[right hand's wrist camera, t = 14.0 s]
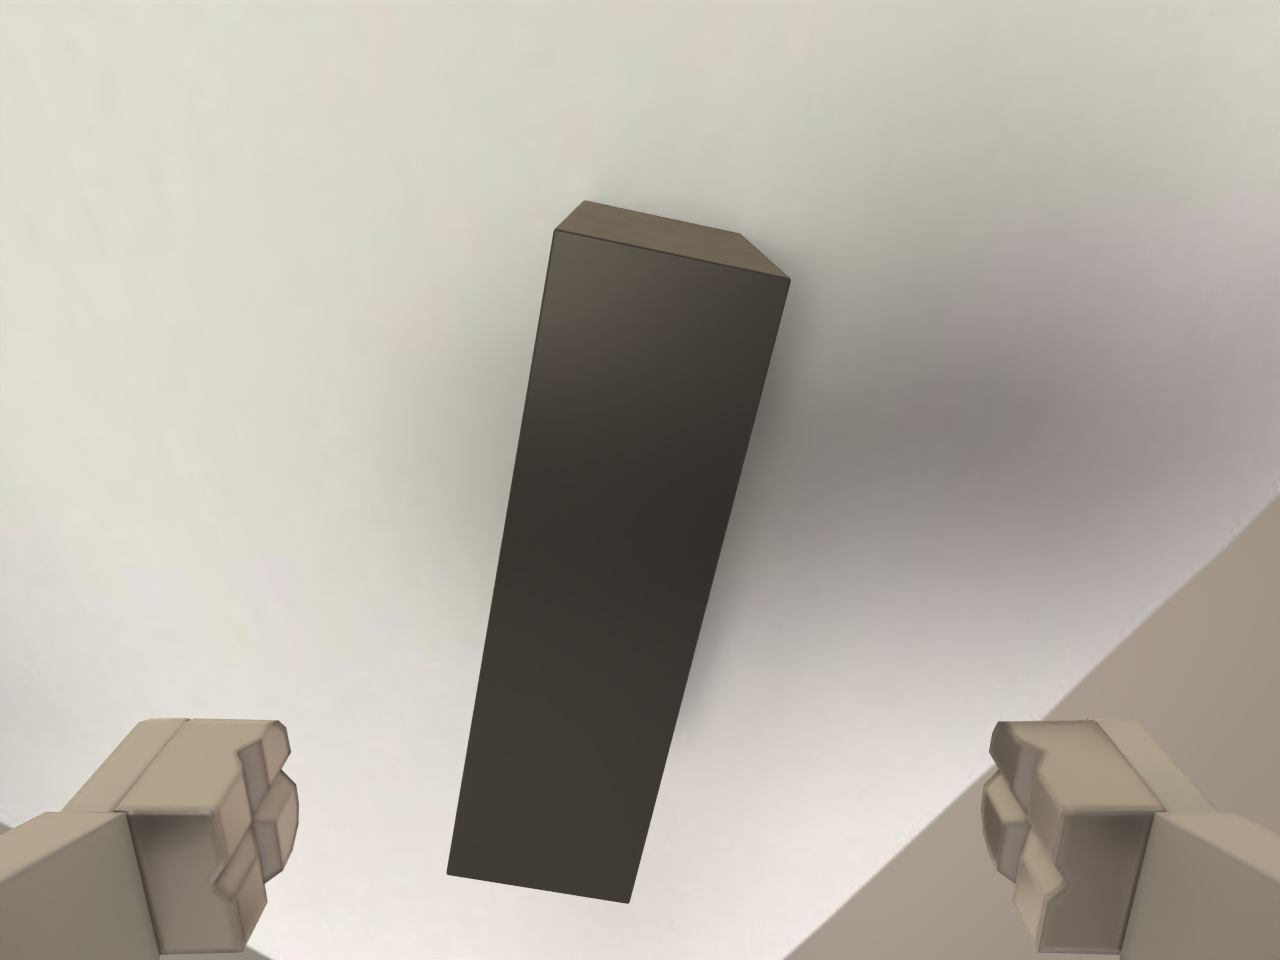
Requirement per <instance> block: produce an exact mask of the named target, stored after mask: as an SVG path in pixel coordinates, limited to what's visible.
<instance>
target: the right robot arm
mask: <svg viewBox="0 0 1280 960" xmlns="http://www.w3.org/2000/svg"><path fill="white" fill-rule="evenodd" d="M290 753H291V750H290V745H289V740H288V735H287V730H286V727H285V726H284V725H283V724H282V723H281V722H280V721H278V720H237V719H192V720H191V719H188V718H157V719H148V720H145V721H142V722H139V723H138V724H137V725H136V726H135V727H134V728H133V730H132V731H131V732H130V733H129V734H128V735H127V736H126V738H125V739H124V740H123V741H122V742H121V743H120V744H119V745H118V747H117V748H116V749H115V750H114V751H113V752H112V753H111V755H110V756H109V757H108V758H107V759H106V760H105V761H104V763H103V764H102V765H101V766H100V767H99V768H98V769H97V771H96V772H95V773H94V774H93V775H92V776H91V777H90V778H89V780H88V781H87V782H86V783H85V784H84V785H83V786H82V788H81V789H80V790H79V791H78V792H77V793H76V794H75V796H74V797H73V798H72V799H71V800H70V801H69V802H68V803H67V805H66V806H65V807H64V808H63V809H62V810H61V811H60V812H45V813H43V814H41V815H39V816H37V817H35V818H33V819H31V820H29V821H27V822H25V823H23V824H21V825H19V826H18V827H16V828H14V829H12V830H10V831H8V832H6V833H4V834H2V835H0V960H160V955H168V954H201V953H235V952H243V950H244V948H245V946H246V944H247V942H248V940H249V938H250V936H251V934H252V932H253V930H254V928H255V926H256V924H257V922H258V920H259V918H260V916H261V914H262V912H263V910H264V908H265V906H266V904H267V896H266V890H265V885H264V884H265V883H266V882H268V881H269V880H270V879H272V878H273V877H275V876H276V875H277V874H279V873H280V872H282V871H283V870H284V867H285V865H286V863H287V861H288V859H289V857H290V854H291V852H292V850H293V846H294V841H295V837H296V832H297V828H298V818H299V801H298V794H297V787H296V784H295V783H294V782H293V781H292V780H291V779H290V778H289V777H288V776H287V775H286V774H285V773H284V772H283V771H282V770H281V769H282V767H283V765H284V763H285V762H286V760H287V758H288V756H289V755H290ZM989 753H990V755H991V756H992V758H993V760H994V762H995V763H996V765H997V767H998V769H999V770H998V771H997V772H996V773H995V774H994V775H993V776H992V777H991V778H990V779H989V780H988V781H987V782H986V783H985V784H984V788H983V796H982V804H981V816H982V827H983V835H984V839H985V842H986V846H987V849H988V853H989V855H990V857H991V859H992V861H993V863H994V865H995V867H996V870H997V871H998V872H1000V873H1001V874H1003V875H1004V876H1005V877H1007V878H1008V879H1010V880H1011V881H1012V882H1014V883H1015V884H1016V885H1015V890H1014V896H1013V904H1014V906H1015V908H1016V910H1017V912H1018V914H1019V916H1020V918H1021V920H1022V922H1023V924H1024V926H1025V928H1026V930H1027V932H1028V934H1029V936H1030V938H1031V940H1032V942H1033V944H1034V946H1035V948H1036V950H1037V952H1041V953H1077V954H1112V955H1120V959H1121V960H1280V835H1278V834H1276V833H1274V832H1272V831H1270V830H1268V829H1266V828H1264V827H1262V826H1260V825H1258V824H1256V823H1255V822H1253V821H1251V820H1249V819H1247V818H1245V817H1243V816H1241V815H1239V814H1237V813H1235V812H1220V811H1219V810H1218V809H1217V808H1216V807H1215V806H1214V805H1213V804H1212V802H1211V801H1210V800H1209V799H1208V798H1207V797H1206V796H1205V794H1204V793H1203V792H1202V791H1201V790H1200V789H1199V788H1198V786H1197V785H1196V784H1195V783H1194V782H1193V781H1192V780H1191V779H1190V777H1189V776H1188V775H1187V774H1186V773H1185V772H1184V771H1183V769H1182V768H1181V767H1180V766H1179V765H1178V764H1177V763H1176V761H1175V760H1174V759H1173V758H1172V757H1171V756H1170V755H1169V754H1168V752H1167V751H1166V750H1165V749H1164V748H1163V747H1162V746H1161V744H1160V743H1159V742H1158V741H1157V740H1156V739H1155V738H1154V736H1153V735H1152V734H1151V733H1150V732H1149V731H1148V730H1147V728H1146V727H1145V726H1144V725H1143V724H1142V723H1140V722H1138V721H1136V720H1134V719H1132V718H1110V719H1087V720H1072V721H998V723H997V725H996V727H995V729H994V731H993V733H992V738H991V744H990V749H989Z"/></svg>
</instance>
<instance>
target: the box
mask: <svg viewBox="0 0 1280 960" xmlns="http://www.w3.org/2000/svg"><path fill="white" fill-rule="evenodd" d="M790 282H791V279H790V278H789V277H788V276H787V275H786V274H785V273H783V272H782V271H781V270H780V269H779V268H778V267H777V266H776V265H774V264H773V263H772V262H771V261H770V260H769V259H768V258H767V257H766V256H764V255H763V254H762V253H761V252H760V251H759V250H758V249H757V248H755V247H754V246H753V245H752V244H751V243H750V242H749V241H748V240H746V239H745V238H744V237H743V236H742V235H741V234H739V233H734V232H730V231H725V230H720V229H716V228H711V227H706V226H702V225H697V224H692V223H688V222H683V221H678V220H674V219H669V218H664V217H659V216H655V215H650V214H645V213H641V212H636V211H631V210H627V209H622V208H617V207H613V206H608V205H603V204H599V203H594V202H589V201H583V202H582V203H581V204H580V205H579V206H578V207H577V208H576V209H575V210H574V211H573V212H572V213H571V214H570V215H569V216H568V217H567V218H566V219H565V220H564V221H563V222H562V223H561V224H560V225H559V226H557V227H556V228H555V230H554V233H553V239H552V244H551V250H550V256H549V262H548V268H547V274H546V280H545V286H544V292H543V298H542V304H541V310H540V316H539V322H538V328H537V334H536V340H535V346H534V352H533V358H532V364H531V370H530V376H529V382H528V388H527V394H526V400H525V406H524V412H523V418H522V424H521V430H520V436H519V442H518V448H517V454H516V460H515V466H514V472H513V478H512V484H511V490H510V496H509V502H508V508H507V514H506V520H505V526H504V532H503V538H502V544H501V550H500V556H499V562H498V567H497V573H496V579H495V585H494V591H493V597H492V603H491V609H490V615H489V621H488V627H487V633H486V639H485V645H484V651H483V657H482V663H481V669H480V675H479V681H478V687H477V693H476V699H475V705H474V711H473V717H472V723H471V729H470V735H469V741H468V747H467V753H466V759H465V765H464V771H463V777H462V783H461V789H460V795H459V801H458V807H457V813H456V819H455V825H454V831H453V837H452V843H451V849H450V855H449V861H448V867H447V875H452V876H458V877H464V878H470V879H477V880H483V881H489V882H495V883H502V884H508V885H514V886H520V887H527V888H533V889H539V890H545V891H552V892H558V893H564V894H570V895H577V896H583V897H589V898H595V899H602V900H608V901H614V902H620V903H627V904H628V903H629V902H630V899H631V895H632V891H633V887H634V883H635V880H636V876H637V872H638V868H639V864H640V860H641V856H642V853H643V849H644V845H645V841H646V837H647V833H648V829H649V826H650V822H651V818H652V814H653V810H654V806H655V802H656V799H657V795H658V791H659V787H660V783H661V779H662V775H663V772H664V768H665V764H666V760H667V756H668V752H669V748H670V745H671V741H672V737H673V733H674V729H675V725H676V721H677V718H678V714H679V710H680V706H681V702H682V698H683V694H684V691H685V687H686V683H687V679H688V675H689V671H690V667H691V664H692V660H693V656H694V652H695V648H696V644H697V641H698V637H699V633H700V629H701V625H702V621H703V617H704V614H705V610H706V606H707V602H708V598H709V594H710V590H711V587H712V583H713V579H714V575H715V571H716V567H717V563H718V560H719V556H720V552H721V548H722V544H723V540H724V536H725V533H726V529H727V525H728V521H729V517H730V513H731V509H732V506H733V502H734V498H735V494H736V490H737V486H738V482H739V479H740V475H741V471H742V467H743V463H744V459H745V455H746V452H747V448H748V444H749V440H750V436H751V432H752V428H753V425H754V421H755V417H756V413H757V409H758V405H759V402H760V398H761V394H762V390H763V386H764V382H765V378H766V375H767V371H768V367H769V363H770V359H771V355H772V351H773V348H774V344H775V340H776V336H777V332H778V328H779V324H780V321H781V317H782V313H783V309H784V305H785V301H786V297H787V294H788V290H789V286H790Z"/></svg>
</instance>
